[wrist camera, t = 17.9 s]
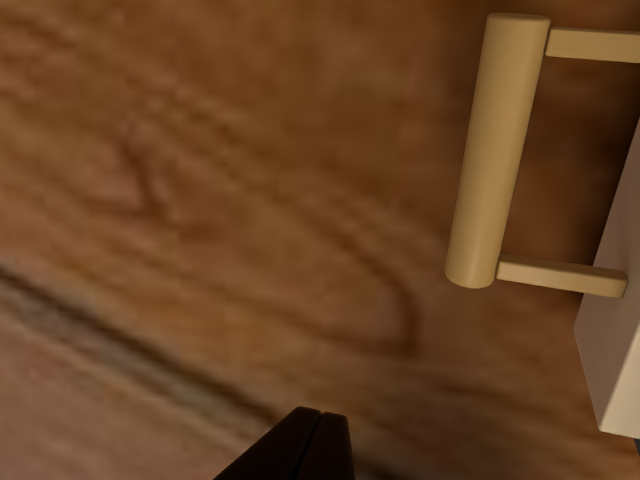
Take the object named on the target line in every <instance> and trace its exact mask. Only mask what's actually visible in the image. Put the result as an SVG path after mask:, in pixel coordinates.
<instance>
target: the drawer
mask: <svg viewBox="0 0 640 480" xmlns="http://www.w3.org/2000/svg"><path fill="white" fill-rule="evenodd" d="M550 23H551V21H550V18H548V17H545V16H540V15H531V14H519V13H492V14H489V15H488V17H487V21H486V27H485V33H484V39H483V45H482V50H481V56H480V62H479V68H478V74H477V80H476V86H475V92H474V98H473V104H472V110H471V116H470V122H469V128H468V134H467V139H466V145H465V151H464V157H463V163H462V169H461V175H460V181H459V187H458V193H457V199H456V205H455V211H454V217H453V222H452V228H451V234H450V240H449V246H448V252H447V258H446V264H445V275H446V277H447V278H448V279H449V280H450V281H452V282H453V283H455V284H457V285H460V286H463V287H468V288H484V287H487V286H489V285H490V284H491V283H492V282H493V281H494V277H495V273H496V278H497V279H501V280H507V281H513V282H520V283H526V284H532V285H538V286H545V287H551V288H557V289H564V290H570V291H576V292H582V293H584V296H583V299H582V302H581V305H580V308H579V312H578V315H577V318H576V321H575V324H574V327H573V332H574V335H575V339H576V343H577V347H578V351H579V355H580V359H581V363H582V366H583V370H584V374H585V378H586V382H587V386H588V390H589V394H590V397H591V401H592V405H593V409H594V413H595V417H596V421H597V425H598V428H599V430H600V431H603V432H608V433H613V434H617V435H622V436H627V437H632V438H637V439H640V118H639V121H638V124H637V127H636V130H635V133H634V137H633V140H632V143H631V146H630V149H629V153H628V156H627V159H626V162H625V165H624V168H623V172H622V175H621V178H620V181H619V184H618V188H617V191H616V194H615V197H614V200H613V203H612V207H611V210H610V213H609V216H608V219H607V222H606V226H605V229H604V232H603V235H602V238H601V242H600V245H599V248H598V251H597V254H596V257H595V261H594V264H593V266H588V265H582V264H575V263H568V262H562V261H555V260H548V259H542V258H535V257H528V256H521V255H515V254H508V253H500V250H501V246H502V241H503V236H504V232H505V227H506V223H507V218H508V214H509V209H510V205H511V200H512V196H513V191H514V186H515V182H516V177H517V173H518V168H519V164H520V159H521V155H522V150H523V146H524V141H525V136H526V132H527V127H528V123H529V118H530V114H531V109H532V105H533V100H534V95H535V91H536V86H537V82H538V77H539V73H540V68H541V64H542V59H543V55H544V54H545V55H546V56H552V57H565V58H579V59H592V60H605V61H618V62H631V63H640V32H635V31H620V30H604V29H589V28H574V27H558V26H550Z"/></svg>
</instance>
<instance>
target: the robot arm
mask: <svg viewBox="0 0 640 480" xmlns="http://www.w3.org/2000/svg"><path fill="white" fill-rule="evenodd" d="M213 480H356V476H355V469H354V462H353V455H352V447H351V440H350V433H349V426H348V420H347V417H346V416H344V415H340V414H335V413H330V412H324V413H323V414H322V413H321V412H320V411H319V410H316V409H312V408H307V407H302V406H300V407H297V408H295V409H294V410H293V411H292V412H291V413H289V414H288V415H287V416H286V417H285V418H284V419H282V420H281V421H280V422H279V423H278V424H277V425H275V426H274V427H273V428H272V429H271V430H270V431H268V432H267V433H266V434H265V435H264V436H263V437H262V438H260V439H259V440H258V441H257V442H256V443H255V444H253V445H252V446H251V447H250V448H249V449H248V450H246V451H245V452H244V453H243V454H242V455H241V456H240V457H238V458H237V459H236V460H235V461H234V462H233V463H231V464H230V465H229V466H228V467H227V468H226V469H224V470H223V471H222V472H221V473H220V474H219V475H217V476H216V477H215V478H214V479H213Z"/></svg>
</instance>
